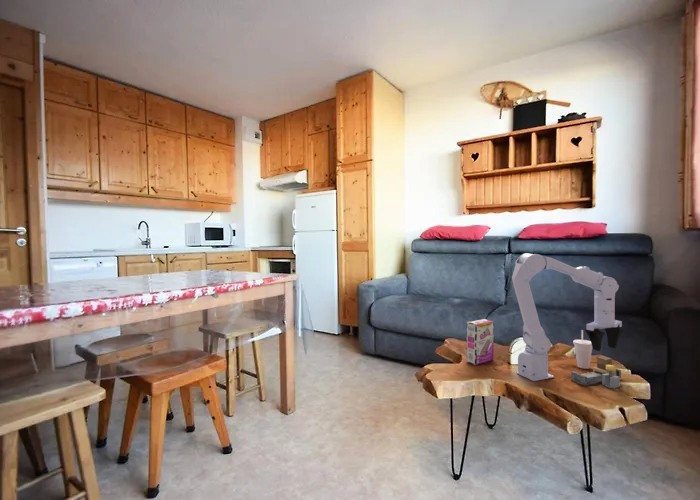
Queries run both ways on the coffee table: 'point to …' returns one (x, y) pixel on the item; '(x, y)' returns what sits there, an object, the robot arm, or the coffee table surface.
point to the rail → (590, 377)
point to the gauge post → (610, 381)
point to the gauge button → (610, 370)
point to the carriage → (603, 365)
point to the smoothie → (583, 352)
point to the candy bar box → (480, 341)
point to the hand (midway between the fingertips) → (604, 348)
